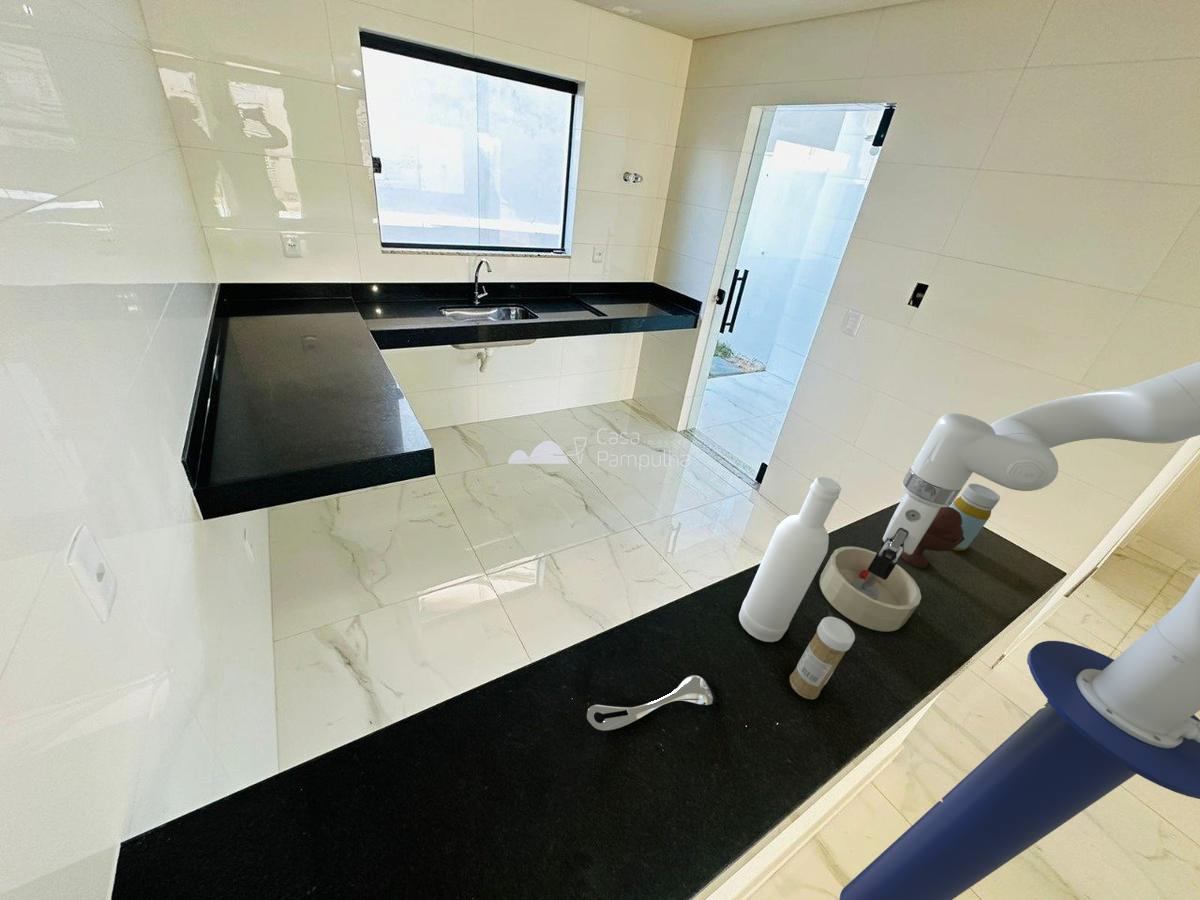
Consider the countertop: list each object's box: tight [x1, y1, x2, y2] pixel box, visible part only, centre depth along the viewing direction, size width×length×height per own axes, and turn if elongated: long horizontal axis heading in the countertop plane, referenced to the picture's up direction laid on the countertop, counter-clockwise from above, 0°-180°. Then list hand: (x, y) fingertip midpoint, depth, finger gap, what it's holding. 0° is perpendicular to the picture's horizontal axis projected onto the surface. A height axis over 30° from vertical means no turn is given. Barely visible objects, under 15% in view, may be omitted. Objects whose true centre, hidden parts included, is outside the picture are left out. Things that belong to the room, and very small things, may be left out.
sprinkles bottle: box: [789, 616, 856, 700], centre depth 67 cm, size 5×5×14 cm
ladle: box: [851, 545, 890, 600], centre depth 86 cm, size 5×5×13 cm
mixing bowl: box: [819, 546, 922, 632], centre depth 88 cm, size 16×16×6 cm
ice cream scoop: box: [585, 673, 717, 732], centre depth 64 cm, size 20×4×5 cm
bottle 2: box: [950, 483, 1001, 552], centre depth 106 cm, size 7×7×15 cm
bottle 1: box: [738, 476, 842, 643], centre depth 73 cm, size 8×8×30 cm
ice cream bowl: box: [900, 506, 965, 568], centre depth 99 cm, size 11×11×15 cm
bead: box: [859, 570, 870, 580], centre depth 92 cm, size 2×2×2 cm
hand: (883, 561), depth 85 cm, fingers open, 9 cm apart
